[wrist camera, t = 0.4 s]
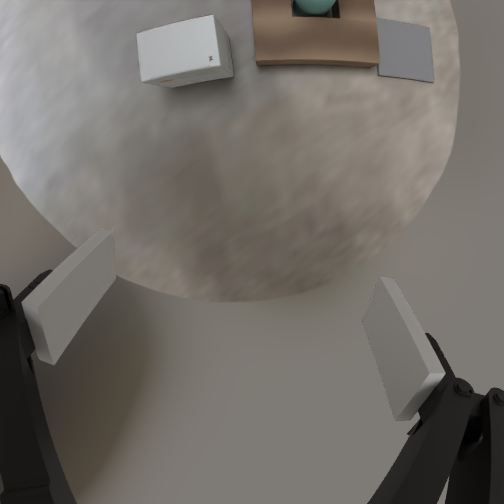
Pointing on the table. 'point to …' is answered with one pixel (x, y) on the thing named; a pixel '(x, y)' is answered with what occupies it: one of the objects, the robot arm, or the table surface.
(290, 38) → the wooden block with hole
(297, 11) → the plug
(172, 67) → the small box
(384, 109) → the table surface
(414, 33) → the mat
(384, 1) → the table surface
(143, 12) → the table surface
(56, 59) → the table surface
